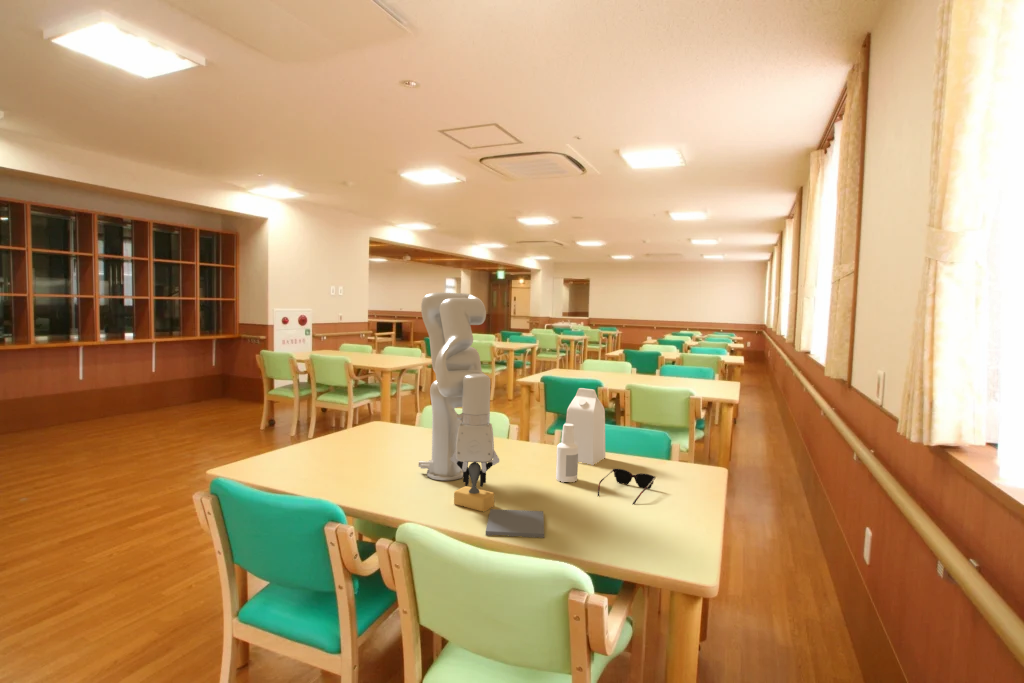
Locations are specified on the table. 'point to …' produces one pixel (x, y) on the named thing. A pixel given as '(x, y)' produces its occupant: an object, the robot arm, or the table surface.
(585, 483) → the table surface
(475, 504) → the rubber stamp
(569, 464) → the spray bottle
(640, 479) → the sunglasses
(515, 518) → the mat
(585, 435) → the milk
